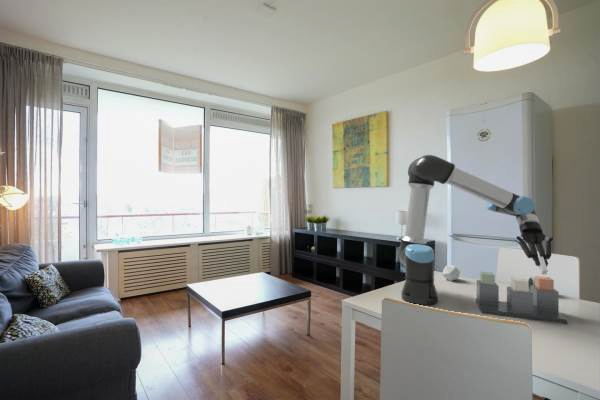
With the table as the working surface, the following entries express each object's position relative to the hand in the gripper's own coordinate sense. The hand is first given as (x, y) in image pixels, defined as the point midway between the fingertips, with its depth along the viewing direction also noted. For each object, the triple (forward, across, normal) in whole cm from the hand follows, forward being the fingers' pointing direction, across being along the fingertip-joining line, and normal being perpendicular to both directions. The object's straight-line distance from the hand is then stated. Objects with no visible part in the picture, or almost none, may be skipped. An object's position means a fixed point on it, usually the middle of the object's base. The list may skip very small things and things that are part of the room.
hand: (544, 272), depth 114 cm
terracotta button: (+8, 0, -7) cm, 11 cm away
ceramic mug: (-9, -7, -32) cm, 34 cm away
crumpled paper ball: (-15, +29, -38) cm, 50 cm away
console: (+13, +10, -9) cm, 19 cm away
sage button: (+8, +19, -7) cm, 22 cm away
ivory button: (+12, +10, -3) cm, 16 cm away
